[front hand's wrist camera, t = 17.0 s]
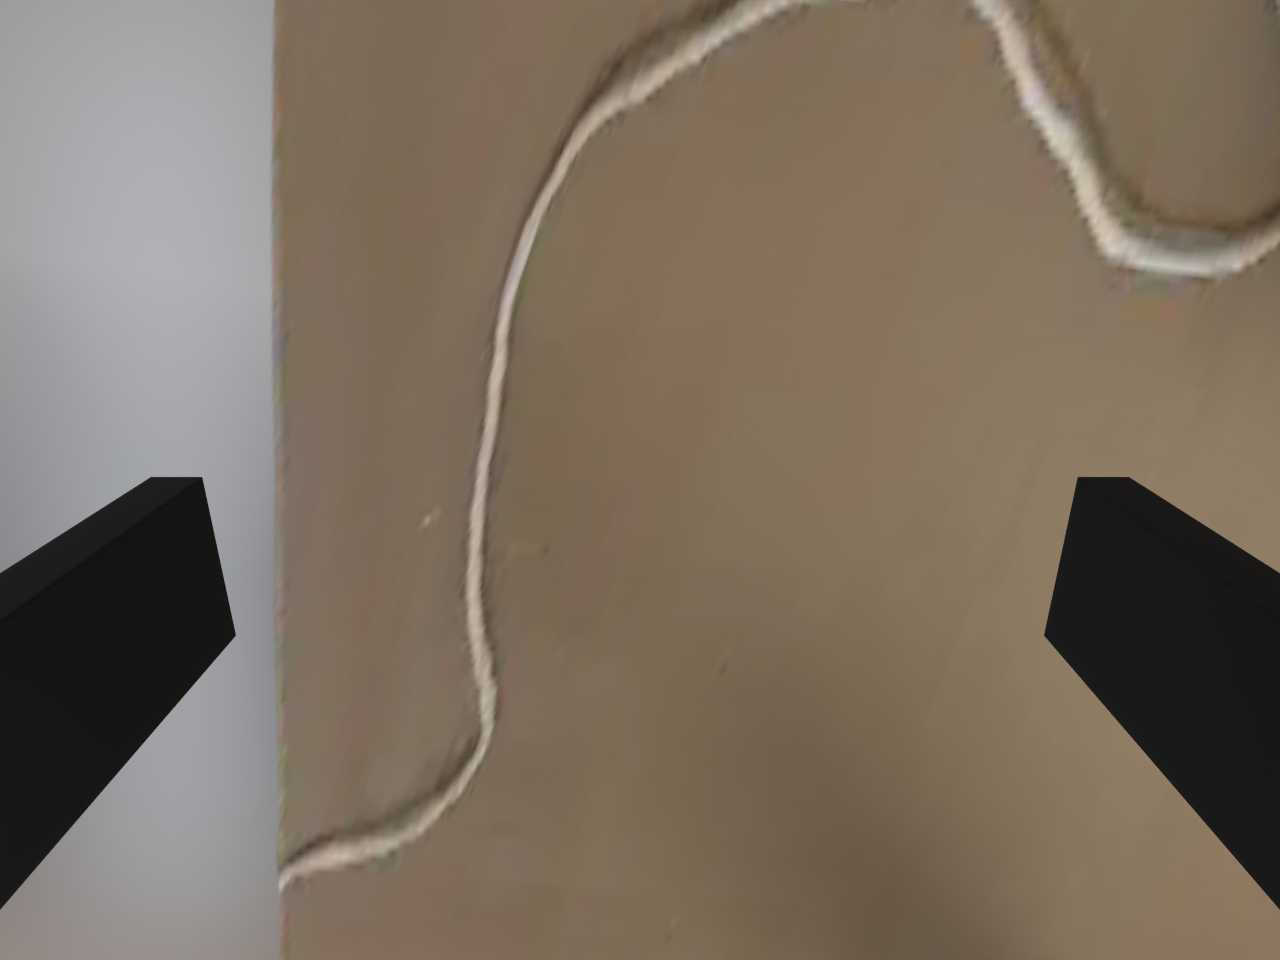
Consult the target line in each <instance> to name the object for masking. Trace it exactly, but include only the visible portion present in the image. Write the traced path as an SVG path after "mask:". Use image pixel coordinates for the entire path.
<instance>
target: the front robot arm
mask: <svg viewBox="0 0 1280 960" xmlns="http://www.w3.org/2000/svg"><path fill="white" fill-rule="evenodd" d="M235 636H236V634H235V629H234V624H233V620H232V615H231V610H230V606H229V601H228V596H227V591H226V587H225V582H224V577H223V573H222V568H221V563H220V559H219V554H218V549H217V545H216V540H215V535H214V531H213V526H212V521H211V516H210V512H209V507H208V502H207V498H206V493H205V488H204V484H203V479H202V477H150V478H149V479H147V480H146V481H144V482H143V483H141V484H140V485H138V486H137V487H135V488H133V489H132V490H130V491H129V492H127V493H125V494H124V495H122V496H121V497H119V498H118V499H116V500H115V501H113V502H111V503H110V504H108V505H107V506H105V507H104V508H102V509H100V510H99V511H97V512H96V513H94V514H92V515H91V516H89V517H88V518H86V519H85V520H83V521H81V522H80V523H78V524H77V525H75V526H74V527H72V528H71V529H69V530H67V531H66V532H64V533H63V534H61V535H60V536H58V537H56V538H55V539H53V540H52V541H50V542H49V543H47V544H45V545H44V546H42V547H41V548H39V549H38V550H36V551H34V552H33V553H31V554H30V555H28V556H27V557H25V558H23V559H22V560H20V561H19V562H17V563H16V564H14V565H12V566H11V567H9V568H8V569H6V570H5V571H3V572H2V573H0V909H1V908H2V907H3V906H4V905H5V903H6V902H7V901H8V900H9V899H10V898H11V896H12V895H13V894H14V893H15V892H16V890H17V889H18V888H19V887H20V886H21V885H22V884H23V882H24V881H25V880H26V879H27V878H28V877H29V875H30V874H31V873H32V872H33V871H34V870H35V869H36V867H37V866H38V865H39V864H40V863H41V862H42V860H43V859H44V858H45V857H46V856H47V855H48V853H49V852H50V851H51V850H52V849H53V848H54V846H55V845H56V844H57V843H58V842H59V841H60V839H61V838H62V837H63V836H64V835H65V834H66V832H67V831H68V830H69V829H70V828H71V827H72V825H73V824H74V823H75V822H76V821H77V820H78V818H79V817H80V816H81V815H82V814H83V813H84V812H85V810H86V809H87V808H88V807H89V806H90V805H91V803H92V802H93V801H94V800H95V799H96V797H97V796H98V795H99V794H100V793H101V792H102V791H103V789H104V788H105V787H106V786H107V785H108V784H109V782H110V781H111V780H112V779H113V778H114V777H115V775H116V774H117V773H118V772H119V771H120V770H121V768H122V767H123V766H124V765H125V764H126V763H127V761H128V760H129V759H130V758H131V757H132V756H133V755H134V753H135V752H136V751H137V750H138V749H139V747H140V746H141V745H142V744H143V743H144V742H145V740H146V739H147V738H148V737H149V736H150V735H151V734H152V732H153V731H154V730H155V729H156V728H157V727H158V725H159V724H160V723H161V722H162V721H163V720H164V718H165V717H166V716H167V715H168V714H169V713H170V711H171V710H172V709H173V708H174V707H175V706H176V704H177V703H178V702H179V701H180V700H181V699H182V698H183V696H184V695H185V694H186V693H187V692H188V691H189V689H190V688H191V687H192V686H193V685H194V684H195V682H196V681H197V680H198V679H199V678H200V677H201V675H202V674H203V673H204V672H205V671H206V670H207V668H208V667H209V666H210V665H211V664H212V663H213V661H214V660H215V659H216V658H217V657H218V656H219V655H220V653H221V652H222V651H223V650H224V649H225V647H226V646H227V645H228V644H229V643H230V642H231V641H232V639H233V638H234V637H235ZM1044 636H1045V637H1046V638H1047V639H1048V641H1049V642H1050V643H1051V644H1052V645H1053V646H1054V648H1055V649H1056V650H1057V651H1058V652H1059V653H1060V655H1061V656H1062V657H1063V658H1064V659H1065V660H1066V661H1067V663H1068V664H1069V665H1070V666H1071V667H1072V668H1073V670H1074V671H1075V672H1076V673H1077V674H1078V675H1079V677H1080V678H1081V679H1082V680H1083V681H1084V682H1085V684H1086V685H1087V686H1088V687H1089V688H1090V689H1091V691H1092V692H1093V693H1094V694H1095V695H1096V696H1097V698H1098V699H1099V700H1100V701H1101V702H1102V703H1103V705H1104V706H1105V707H1106V708H1107V709H1108V710H1109V711H1110V713H1111V714H1112V715H1113V716H1114V717H1115V718H1116V720H1117V721H1118V722H1119V723H1120V724H1121V725H1122V727H1123V728H1124V729H1125V730H1126V731H1127V732H1128V734H1129V735H1130V736H1131V737H1132V738H1133V739H1134V741H1135V742H1136V743H1137V744H1138V745H1139V746H1140V748H1141V749H1142V750H1143V751H1144V752H1145V753H1146V755H1147V756H1148V757H1149V758H1150V759H1151V760H1152V762H1153V763H1154V764H1155V765H1156V766H1157V767H1158V768H1159V770H1160V771H1161V772H1162V773H1163V774H1164V775H1165V777H1166V778H1167V779H1168V780H1169V781H1170V782H1171V784H1172V785H1173V786H1174V787H1175V788H1176V789H1177V791H1178V792H1179V793H1180V794H1181V795H1182V796H1183V798H1184V799H1185V800H1186V801H1187V802H1188V803H1189V805H1190V806H1191V807H1192V808H1193V809H1194V810H1195V812H1196V813H1197V814H1198V815H1199V816H1200V817H1201V818H1202V820H1203V821H1204V822H1205V823H1206V824H1207V825H1208V827H1209V828H1210V829H1211V830H1212V831H1213V832H1214V834H1215V835H1216V836H1217V837H1218V838H1219V839H1220V841H1221V842H1222V843H1223V844H1224V845H1225V846H1226V848H1227V849H1228V850H1229V851H1230V852H1231V853H1232V855H1233V856H1234V857H1235V858H1236V859H1237V860H1238V862H1239V863H1240V864H1241V865H1242V866H1243V867H1244V869H1245V870H1246V871H1247V872H1248V873H1249V874H1250V875H1251V877H1252V878H1253V879H1254V880H1255V881H1256V882H1257V884H1258V885H1259V886H1260V887H1261V888H1262V889H1263V891H1264V892H1265V893H1266V894H1267V895H1268V896H1269V898H1270V899H1271V900H1272V901H1273V902H1274V903H1275V905H1276V906H1277V907H1278V908H1279V909H1280V573H1279V572H1277V571H1275V570H1274V569H1272V568H1271V567H1269V566H1268V565H1266V564H1264V563H1263V562H1261V561H1260V560H1258V559H1257V558H1255V557H1253V556H1252V555H1250V554H1249V553H1247V552H1246V551H1244V550H1242V549H1241V548H1239V547H1238V546H1236V545H1235V544H1233V543H1231V542H1230V541H1228V540H1227V539H1225V538H1224V537H1222V536H1220V535H1219V534H1217V533H1216V532H1214V531H1213V530H1211V529H1210V528H1208V527H1206V526H1205V525H1203V524H1202V523H1200V522H1199V521H1197V520H1195V519H1194V518H1192V517H1191V516H1189V515H1188V514H1186V513H1184V512H1183V511H1181V510H1180V509H1178V508H1177V507H1175V506H1173V505H1172V504H1170V503H1169V502H1167V501H1166V500H1164V499H1162V498H1161V497H1159V496H1158V495H1156V494H1155V493H1153V492H1151V491H1150V490H1148V489H1147V488H1145V487H1144V486H1142V485H1140V484H1139V483H1137V482H1136V481H1134V480H1133V479H1131V478H1130V477H1078V479H1077V484H1076V488H1075V493H1074V498H1073V502H1072V507H1071V512H1070V516H1069V521H1068V526H1067V530H1066V535H1065V540H1064V545H1063V549H1062V554H1061V559H1060V563H1059V568H1058V573H1057V577H1056V582H1055V587H1054V591H1053V596H1052V601H1051V606H1050V610H1049V615H1048V620H1047V624H1046V629H1045V634H1044Z"/></svg>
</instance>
